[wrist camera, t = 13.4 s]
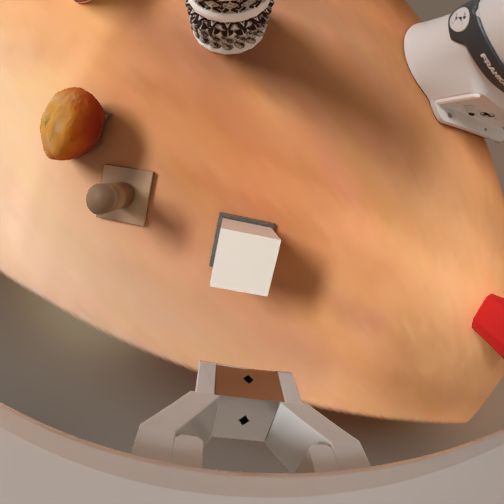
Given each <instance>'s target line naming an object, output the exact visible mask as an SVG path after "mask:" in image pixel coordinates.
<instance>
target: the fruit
mask: <svg viewBox="0 0 504 504" xmlns="http://www.w3.org/2000/svg"><path fill="white" fill-rule="evenodd" d="M111 115H112V114H108V115H105V113H104V111H103V109H102V106H101V105H100V103H99V102H98V101H97V99H96V98H95V97H94V96H93V95H92V94H90V93H89V92H87V91H85V90H84V89H82V88H76V87H73V88H67V89H64V90H62V91H60V92H58V93H57V94H55V96H54V97H53V99H52V100H51V101H50V103H49V104H48V105H47V107H46V109H45V112H44V113H43V115H42V119H41V125H40V133H41V138H42V143H43V148H44V151H45V153H46V155H47V156H48V157H49V158H50V159H55V160H70V159H75V158H78V157H81V156H83V155H84V154H87V153H89V152H90V151H92V150H93V149H94V148H96V147H98V146H100V144H99V142H100V139H101V136H102V133H103V126H104V123H105V121H106V119H107V117H108V116H111Z"/></svg>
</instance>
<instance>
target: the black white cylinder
mask: <svg viewBox="0 0 504 504" xmlns="http://www.w3.org/2000/svg"><path fill="white" fill-rule="evenodd" d="M273 4H274V1H273V0H187V1H186V7H187V8H188V14H189V15H190V16H189V21H190V23H191V28H192V30H193V34H194V36H195V38H196V39H197V41H198V42H199V44H200V45H201V46H203V47H204V48H206V49H208V50H209V51H211V52H215V53H219V54H224V55H227V54H240V53H242V52H244V51H247V50H249V49H252V48H253V47H254V46H255V45H256V44H258V43H259V42H260V41H261V40H262V38H263V35H264V32H265V30H266V27H267V26H268V23H266V22H268V21H269V20H270V17H269V16H268V15H269V14H270V13H271V11H272V9H271V7H272V6H273Z"/></svg>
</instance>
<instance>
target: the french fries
mask: <svg viewBox="0 0 504 504" xmlns="http://www.w3.org/2000/svg"><path fill="white" fill-rule="evenodd" d="M472 328H473V329H474V330H475V331H476V332H477V333H478V334H479V335H481V336H482V337H483V338H484V339H485V340H486V341H487V342H488V343H489V344H490V345H491V346H492V347H493V348H494V349H495V350H496V351H497V352H498V353H499V354H500V355H501V357H502V358H504V298H502V297H499V296H496V295H494V294H490V295H489V296H488V297H486V299H485V300H484V302H483V304H482V305H481V307H480V309H479V310H478V312H477V314H476V315H475V317H474V319H473V323H472Z"/></svg>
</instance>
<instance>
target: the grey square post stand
mask: <svg viewBox="0 0 504 504" xmlns="http://www.w3.org/2000/svg"><path fill="white" fill-rule="evenodd" d="M223 218H226V219H231V220H236V221H241V222H246V223H250V224H255V225H260V226H265V227H270V228H272V230H274V225H275V224H274V223H270V222H266V221H261V220H256V219H251V218H247V217H242V216H237V215H232V214H227V213H222V212H220V215H219V220H218V225H217V230H216V235H215V240H214V245H213V250H212V255H211V261H210V266H211V267H213V264H214V259H215V254H216V249H217V244H218V239H219V234H220V229H221V224H222V219H223Z"/></svg>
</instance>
